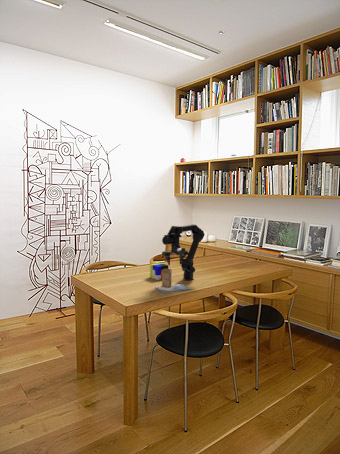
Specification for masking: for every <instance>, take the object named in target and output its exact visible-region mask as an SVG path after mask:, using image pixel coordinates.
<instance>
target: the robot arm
mask: <svg viewBox="0 0 340 454" xmlns="http://www.w3.org/2000/svg"><path fill="white" fill-rule="evenodd" d="M184 232H190V233H191V234H192V242H191V245H190V248H189V249H188V250H186V248H185V247H182V248H181V245H180V238H182V235H181V234H183V233H184ZM204 237H205V231H204V230H203V229H201V228H200V227H199V226H198V225H197V224H191V223H190V224H188V225H182V226H177V225H171V227H170V229H169V230H168V232H167V234H164V236H163V237H162V238H161V239H162V240H161V242H162V244H163V245H164V246H165V245H167V246H168V245H170V249H171V250H169V251H167V250H164V251H162V252H161V256H163V257H164V258H165V260H166V262H167V265H168V267H169V266H170V265H171V256H174V255H176V256H178V257H179V265H181V269H182V272H183V277H182V279H183V280H185V281H193V280H194V281H195V278H194V273H195V272H196V267H194V258H195V255H196V252H197V249H198V247H199V244H200V242H201V241H202V240H203V239H204Z"/></svg>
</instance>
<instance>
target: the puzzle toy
mask: <svg viewBox="0 0 340 454" xmlns="http://www.w3.org/2000/svg"><path fill="white" fill-rule="evenodd" d="M163 269H169V265H168V264H165V263H162V262H157V263H150V264H149V278H152V279H154V280H157V281H159V280H162V270H163Z"/></svg>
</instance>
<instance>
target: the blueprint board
mask: <svg viewBox="0 0 340 454" xmlns="http://www.w3.org/2000/svg"><path fill="white" fill-rule="evenodd" d="M154 288H155V290H157V291H159V292H161V293H162V294H163V293H164V294H166V292H167V293H172V292H174V291H175V292H181V291H189V290H192V289H191V287H189V286H187V285H186V284H183V283H179V284H178V283H177V284H171V287H170V288H164V287H162V285H161V286H155V287H154ZM175 292H174V293H175Z"/></svg>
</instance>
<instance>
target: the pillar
mask: <svg viewBox="0 0 340 454" xmlns="http://www.w3.org/2000/svg"><path fill="white" fill-rule="evenodd" d="M171 285H172V268H168V269H163V270H162V279H161V286H162V287H164V288H170V287H171Z"/></svg>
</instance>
